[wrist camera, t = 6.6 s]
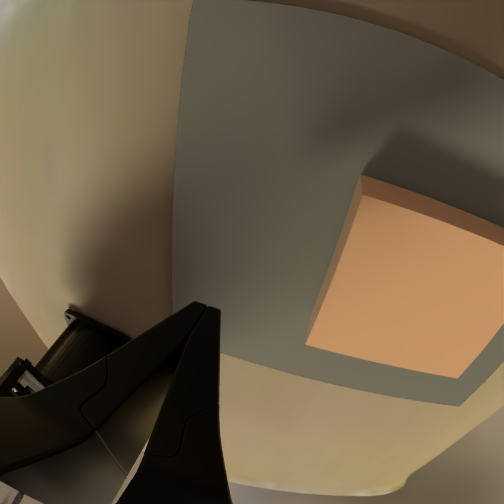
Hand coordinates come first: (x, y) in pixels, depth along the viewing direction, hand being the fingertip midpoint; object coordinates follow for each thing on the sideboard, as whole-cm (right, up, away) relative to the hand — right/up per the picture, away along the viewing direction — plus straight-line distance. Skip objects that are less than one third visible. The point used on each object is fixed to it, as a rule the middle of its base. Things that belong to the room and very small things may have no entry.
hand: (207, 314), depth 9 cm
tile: (+4, +1, +3) cm, 5 cm away
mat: (+8, +2, +4) cm, 9 cm away
